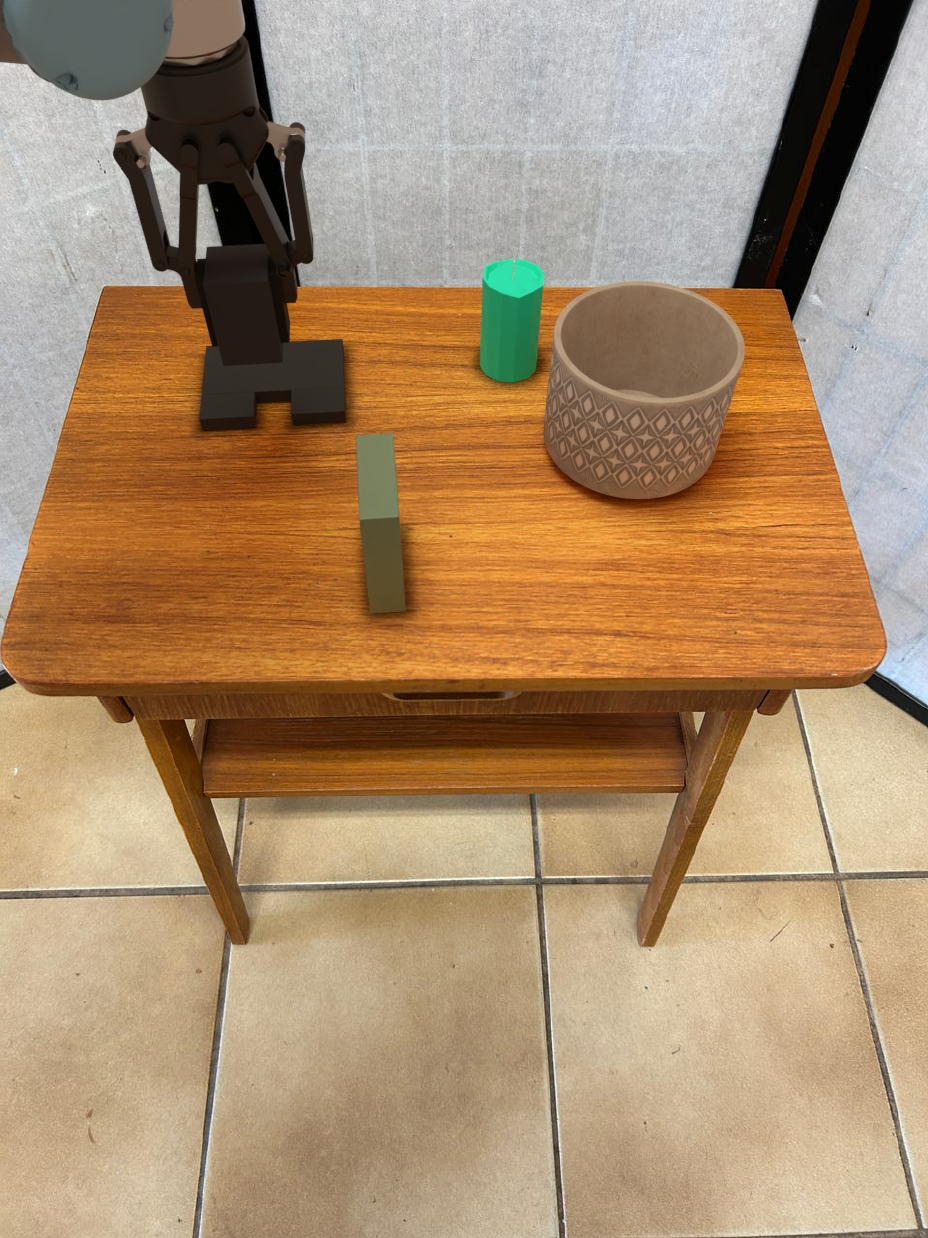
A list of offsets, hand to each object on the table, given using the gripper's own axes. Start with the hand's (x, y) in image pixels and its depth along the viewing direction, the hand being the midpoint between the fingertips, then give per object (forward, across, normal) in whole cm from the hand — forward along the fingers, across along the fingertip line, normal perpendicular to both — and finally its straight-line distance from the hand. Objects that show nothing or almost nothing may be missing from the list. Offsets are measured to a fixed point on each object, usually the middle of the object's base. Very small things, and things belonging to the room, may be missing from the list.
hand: (251, 333), depth 81 cm
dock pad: (+13, 0, -8) cm, 16 cm away
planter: (+14, -34, +3) cm, 37 cm away
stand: (+13, -10, +16) cm, 23 cm away
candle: (+14, -24, -10) cm, 29 cm away
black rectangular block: (+1, 0, -2) cm, 2 cm away
